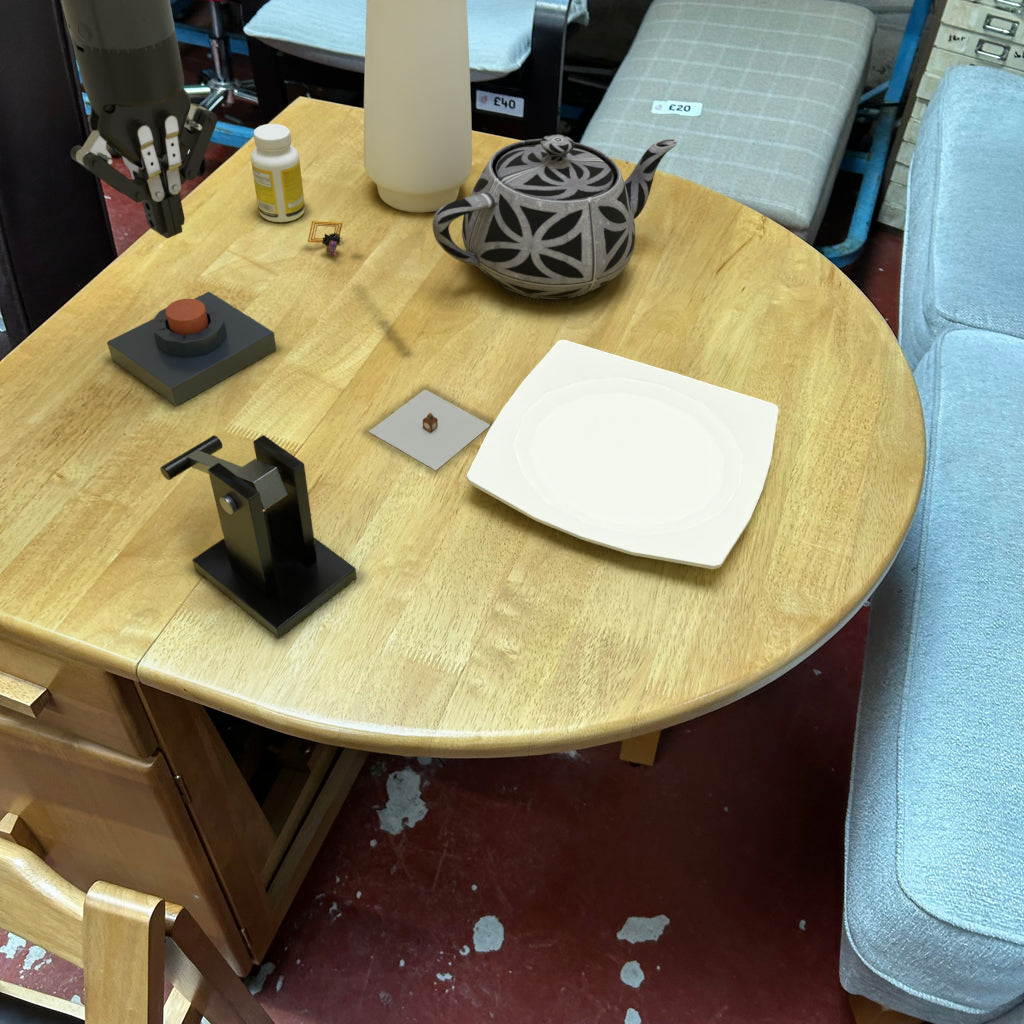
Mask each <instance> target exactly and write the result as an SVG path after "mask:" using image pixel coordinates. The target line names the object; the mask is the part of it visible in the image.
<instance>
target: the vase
mask: <svg viewBox="0 0 1024 1024" xmlns="http://www.w3.org/2000/svg"><path fill="white" fill-rule="evenodd" d="M468 23H469V22H468V8H467V0H366V7H365V38H364V39H365V40H364V41H365V43H364V75H363V76H364V78H363V79H364V81H363V164H364V165H363V166H364V170H365V173H366V175H367V176H368V178H370V180H371V181H372V182H373V183H375V184H376V187H377V192H378V195H379V197H380V199H381V200H382V201H383V202H384V203H385V204H386V205H388V206H390V207H391V208H394V209H396V210H399V211H402V212H408V213H418V214H419V213H421V214H422V213H423V214H424V213H433V212H437V211H438V210H439V209H440V208H441V207H443V206H445V205H447V204H449V203H451V202H454V201H457V200H458V197H459V193H460V188H461V186H462V185H463V184H464V183H466V181H467V180H468V179H469V178H470V175H471V174H472V167H473V136H472V135H473V134H472V133H473V128H472V125H473V124H472V99H471V98H472V97H471V93H472V92H471V71H470V68H471V67H470V50H469V49H470V47H469V45H470V44H469V26H468V25H469V24H468Z"/></svg>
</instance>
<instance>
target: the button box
mask: <svg viewBox="0 0 1024 1024" xmlns="http://www.w3.org/2000/svg"><path fill="white" fill-rule="evenodd" d="M194 299H195V300H198V301H200V302H202V303H203V304H204V306H205V309H206V314H207V319H208V325H207V327H206V329H204V330H202V331H200V332H198V333H194V334H187V335H183V334H176V333H173V332H172V331H171V330H170V328H169V324H168V320H167V316H166V308H167V307H165V308H163V309H161V310H159V311H158V312H157V314H156V315H155V317H153V318H152V319H150V320H148V321H146V322H144V323H142V324H140V325H137V326H136V327H134V328H132V329H130V330H128V331H126V332H123V333H122V334H119V335H118V336H116V337H114V338H111V339H110V340H108V341H106V344H107V347H108V350H109V354H110V357H111V360H112V361H113V362H114V363H116V364H117V365H119V366H120V367H121V368H123V369H124V370H126V371H127V372H128V373H130V374H131V375H132V376H134V377H135V378H137V379H138V380H139V381H140V382H142V383H144V384H145V385H147V386H148V387H149V388H151V389H152V390H153V391H155V392H156V393H158V394H159V395H160V396H162V397H163V399H165V400H167V401H168V402H169V403H171V404H172V405H174V406H175V407H178V406H179V405H181V404H183V403H185V402H186V401H188V400H190V399H192V398H193V397H195V396H197V395H199V394H200V393H202V392H204V391H206V390H209V388H212V387H213V386H215V385H216V384H219V383H220V382H222V381H224V380H225V379H227V378H229V377H231V376H233V375H234V374H236V373H238V372H240V371H242V370H244V369H246V368H247V367H249V366H251V365H253V364H254V363H255V362H258V361H259V360H261V359H263V358H265V357H267V356H269V355H270V354H272V353H274V352H275V351H277V344H276V337H275V332H274V331H273V330H271V329H270V328H268V327H267V326H265V325H263V324H261V323H260V322H258V321H257V320H256V319H254V318H252V317H250V316H249V315H247V314H246V313H244V312H242V311H241V310H239V309H237V308H236V307H235V306H234V305H232V304H230V303H229V302H227V301H225V300H224V299H222V298H221V297H219V296H218V295H215V294H214V293H213V292H211V291H207V292H205V293H203V294H201V295H199V296H196V297H195V298H194Z"/></svg>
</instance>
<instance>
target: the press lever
mask: <svg viewBox="0 0 1024 1024" xmlns="http://www.w3.org/2000/svg"><path fill="white" fill-rule="evenodd" d="M223 447H224V446H223V442H222V441H221V439H220V438H219V437H218V436H217V435H214V434H213V435H211V436H209V437H208V438H207V439H204V440H203V441H202V442H200V443H198V444H197V445H195V446H193V447H191V448H189V449H187V450H186V451H185V452H183V453H181V454H180V455H178V456H176V457H175V458H173V459H172V460H171V459H170V461H168V462H166V463H164V464H163V465H161V466H160V468H159V470H160V473H161V474H162V476H163V477H164V478H165V480H167V481H171V480H173V479H174V478H176V477H178V476H179V475H181V474H183V473H185V471H188V470H189V469H191V468H193V469H194V470H198V471H200V472H202V473H205V474H207V475H209V472H208V469H209V468H211V467H212V466H214V465H216V464H217V463H220V464H222V465H223V466H224V467H226V468H227V469H228V470H230V471H231V472H232V473H234V474H235V475H236V476H238V477H239V478H241V479H242V480H243V481H245V482H246V483H247V484H249V485H250V486H251V487H253V488H254V489H255V490H257V491H258V492H259V493H260V497H261V502H262V508H263V511H265V510H266V509H267V508H269V507H270V506H272V505H273V504H275V503H276V502H277V501H279V500H280V499H282V498H283V497H285V496H286V495H288V493H287V491H286V488H285V486H284V483H283V480H282V478H281V475H280V473H279V470H278V468H277V467H276V466H273V465H270V464H268V463H265V462H262V461H259V460H257V459H256V458H254V459H252V460H251V461H249V462H247V463H246V464H244V465H242V466H241V465H239V464H236V463H233V462H231V461H228V460H225V459H222V458H220V457H218V456H215V455H213V454H215V453H216V452H219V451H220V450H221V449H223Z"/></svg>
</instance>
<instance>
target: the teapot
mask: <svg viewBox="0 0 1024 1024" xmlns="http://www.w3.org/2000/svg"><path fill="white" fill-rule="evenodd" d="M678 142H679V141H678V140H677V139H674V138H667V139H662V140H659V141H656V142H655V143H653V144H652V145H650V146H649V148H647V149H646V150H645V152H644V153H643V154H642V156H641V158H640V159H639V161H637V164H636V165H635V167H634V169H633V170H632V171H631V173H630V174H629V176H628V178H626V179H624V177H623V174H622V171H621V169H620V167H619V165H618V164H617V163H616V162H615V161H614V160H613V159H612V158H611V157H610V156H608V155H607V154H606V153H604V152H602V151H600V150H598V149H597V148H594V147H592V146H590V145H586V144H583V143H580V142H575V141H574V140H573V139H571V137H569V136H566V135H563V134H549V135H545V136H544V137H542V138H535V139H526V140H521V141H516V142H513V143H511V144H508V145H506V146H505V145H504V146H503V147H502V148H500V149H498V150H497V151H496V152H495V153H494V154H493V155H492V156H491V157H490V158H489V160H488V161H487V163H486V165H485V167H484V168H483V170H482V172H481V173H480V175H479V178H478V179H477V181H476V183H475V185H474V186H473V189H472V190H471V193H470V195H469V196H467V197H463V198H460V199H456V200H455V201H454V202H451V203H449V204H447V205H445V206H443V207H441V208H440V209H439V210H438V211H435V213H434V215H433V218H432V232H433V235H434V238H435V240H436V242H437V244H438V245H439V246H440V247H441V249H442V250H443V251H444V252H445V253H447V254H448V255H449V256H450V257H452V258H454V259H456V260H458V261H460V262H461V263H462V262H463V263H465V264H468V265H471V266H475V267H477V268H478V269H479V270H480V271H481V272H483V273H484V274H485V275H486V276H487V277H489V278H490V279H491V280H492V281H494V282H495V283H496V284H498V286H500V287H503V288H504V289H506V290H507V291H510V292H512V293H514V294H517V295H520V296H524V297H529V298H532V299H539V300H565V299H566V300H567V299H571V298H576V297H580V296H583V295H586V294H588V293H591V292H593V291H594V290H596V289H598V288H600V287H602V286H604V285H606V284H608V283H609V282H611V281H612V280H614V279H615V278H616V277H618V276H619V275H620V274H621V273H622V272H623V271H624V269H626V267H627V265H628V264H629V262H630V260H631V258H632V256H633V253H634V250H635V244H636V223H635V220H636V219H637V218H638V217H639V215H640V214H641V213H642V211H643V210H644V208H645V206H646V205H647V202H648V199H649V196H650V193H651V188H652V185H653V182H654V177H655V175H656V171H657V169H658V167H659V164H660V162H661V161H662V159H663V158H664V157H665V156H666V154H667V153H668V152H669V151H671V150H672V149H673V148H674V147H676V146H677V144H678ZM462 216H463V218H462V224H461V237H462V242H463V245H464V248H465V249H463V248H461V247H460V246H458V245H457V244H456V243H455V242H454V240H453V239H452V237H451V233H450V225H451V224H452V222H453V221H454V220H457V219H458V218H460V217H462Z"/></svg>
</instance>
